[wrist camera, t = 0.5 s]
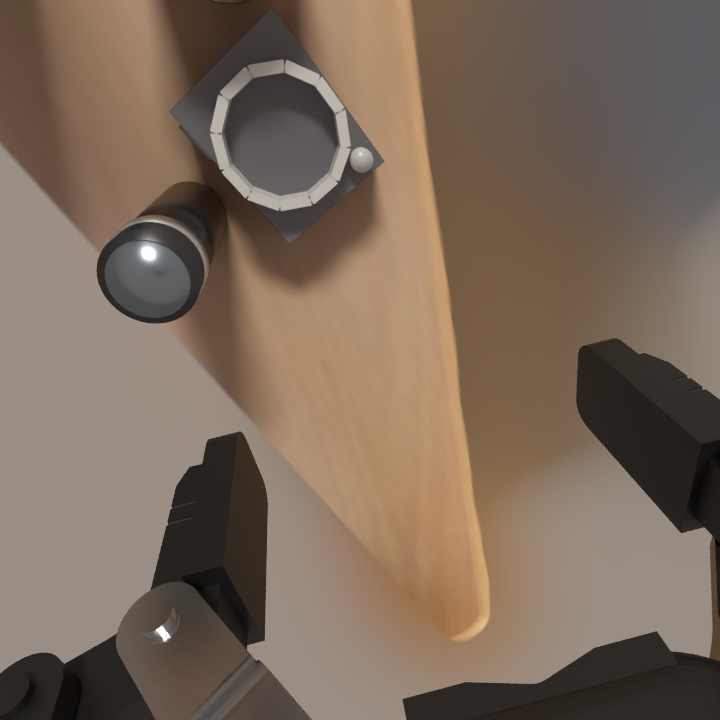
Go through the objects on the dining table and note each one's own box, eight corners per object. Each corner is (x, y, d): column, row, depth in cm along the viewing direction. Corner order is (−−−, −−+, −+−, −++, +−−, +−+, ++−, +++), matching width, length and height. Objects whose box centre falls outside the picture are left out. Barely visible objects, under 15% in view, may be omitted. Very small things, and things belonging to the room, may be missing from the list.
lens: (141, 211, 34) (70, 276, 22) (190, 164, 33) (140, 207, 21) (195, 262, 36) (154, 344, 25) (242, 219, 35) (222, 285, 24)
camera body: (178, 112, 31) (159, 116, 26) (274, 15, 29) (272, 2, 25) (285, 230, 36) (286, 253, 31) (374, 153, 34) (389, 164, 29)
